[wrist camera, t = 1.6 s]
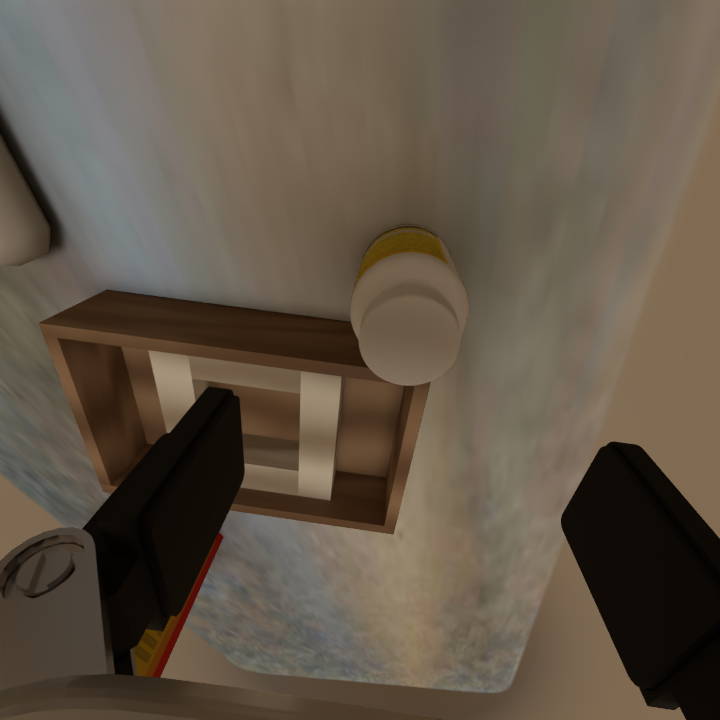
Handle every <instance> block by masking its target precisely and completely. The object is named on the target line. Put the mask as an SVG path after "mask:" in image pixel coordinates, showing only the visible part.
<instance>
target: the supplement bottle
mask: <svg viewBox="0 0 720 720" xmlns="http://www.w3.org/2000/svg"><path fill="white" fill-rule="evenodd" d="M468 309H469V306H468V298H467V294H466V291H465V288H464V285H463V282H462V280H461V278H460V276H459V274H458V271H457V269H456V267H455V265H454V263H453V260H452V258H451V255H450V253H449V251H448V249H447V248H446V246H445V244H444V243H443V241H442V240H441V239H440V238H439V237H438V236H437V235H436V234H434V233H433V232H432V231H430V230H428V229H426V228H423V227H420V226H416V225H401V226H396V227H393V228H390V229H388V230H386V231H385V232H383V233H382V234H380V235H379V236H378V237H377V238H376V239H375V240H374V241H373V242H372V243H371V245H370V246H369V248H368V249H367V251H366V253H365V255H364V257H363V261H362V264H361V267H360V270H359V273H358V276H357V280H356V283H355V286H354V290H353V293H352V297H351V304H350V318H351V323H352V327H353V330H354V332H355V335H356V336H357V338H358V340H359V349H360V353H361V356H362V358H363V360H364V362H365V363H366V365H367V366H368V367H369V369H370V370H371V371H372V372H373V373H375V374H376V375H377V376H379V377H380V378H382V379H384V380H386V381H388V382H391V383H394V384H398V385H405V386H413V385H420V384H424V383H427V382H430V381H433V380H435V379H436V378H438V377H440V376H441V375H443V374H444V373H445V372H447V371H448V370H449V369H450V367H451V366H452V365H453V364H454V362H455V360H456V358H457V356H458V354H459V351H460V347H461V335H462V333H463V331H464V329H465V326H466V323H467V319H468Z"/></svg>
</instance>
